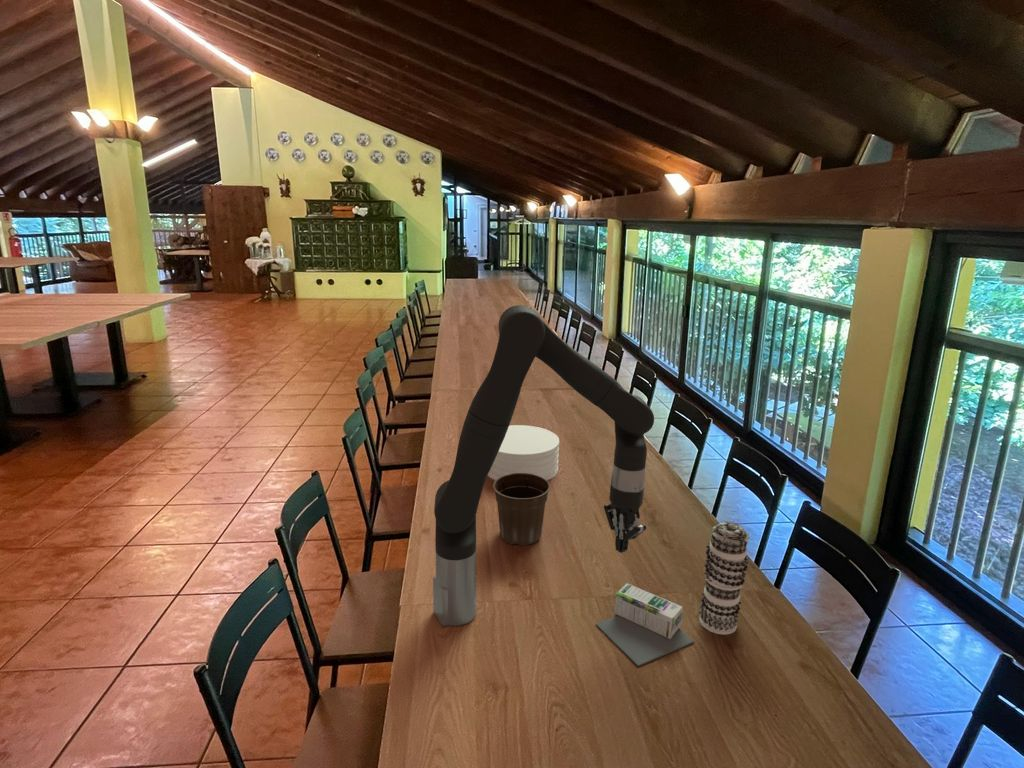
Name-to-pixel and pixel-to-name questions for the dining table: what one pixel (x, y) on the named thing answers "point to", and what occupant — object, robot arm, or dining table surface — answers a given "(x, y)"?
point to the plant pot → (521, 506)
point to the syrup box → (648, 610)
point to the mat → (641, 640)
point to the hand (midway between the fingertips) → (621, 550)
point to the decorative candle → (724, 578)
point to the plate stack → (527, 453)
